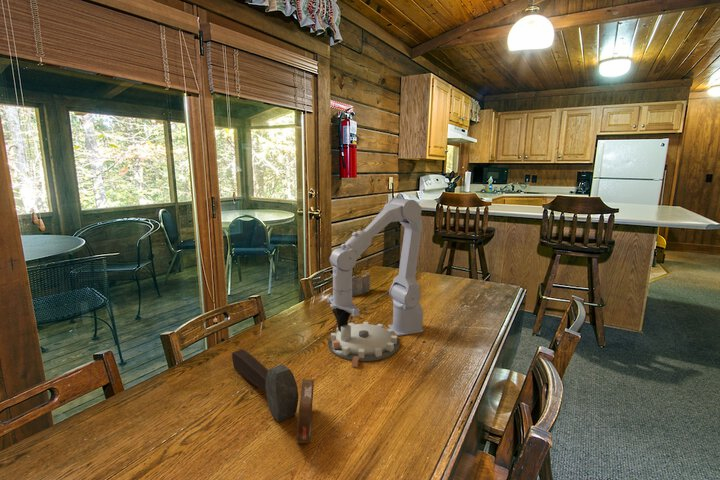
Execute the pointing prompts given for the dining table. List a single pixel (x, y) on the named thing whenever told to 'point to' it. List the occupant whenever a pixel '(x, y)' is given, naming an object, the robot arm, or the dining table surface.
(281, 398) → the hammer
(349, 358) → the wheel base
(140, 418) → the dining table surface
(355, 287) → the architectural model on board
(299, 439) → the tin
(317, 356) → the dining table surface
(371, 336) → the sprocket wheel
